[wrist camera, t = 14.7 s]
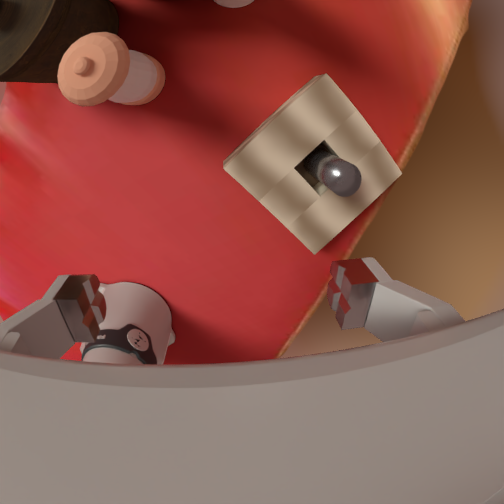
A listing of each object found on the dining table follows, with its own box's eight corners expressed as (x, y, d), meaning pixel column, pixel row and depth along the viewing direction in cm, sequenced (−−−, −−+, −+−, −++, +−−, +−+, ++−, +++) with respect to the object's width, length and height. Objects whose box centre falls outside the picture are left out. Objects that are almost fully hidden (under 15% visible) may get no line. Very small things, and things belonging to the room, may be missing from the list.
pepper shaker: (172, 61, 32) (134, 27, 15) (156, 109, 35) (105, 115, 18) (124, 52, 30) (58, 23, 14) (109, 100, 33) (34, 104, 17)
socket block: (305, 239, 47) (314, 254, 43) (223, 161, 40) (223, 168, 35) (385, 165, 42) (402, 173, 38) (314, 76, 35) (326, 73, 31)
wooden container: (41, 11, 23) (-47, -15, 4) (124, -14, 25) (60, -79, 6) (34, 92, 30) (-69, 106, 11) (116, 73, 32) (26, 56, 12)
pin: (317, 181, 41) (345, 203, 33) (298, 163, 40) (322, 181, 31) (335, 161, 40) (367, 178, 31) (316, 143, 39) (346, 155, 30)
